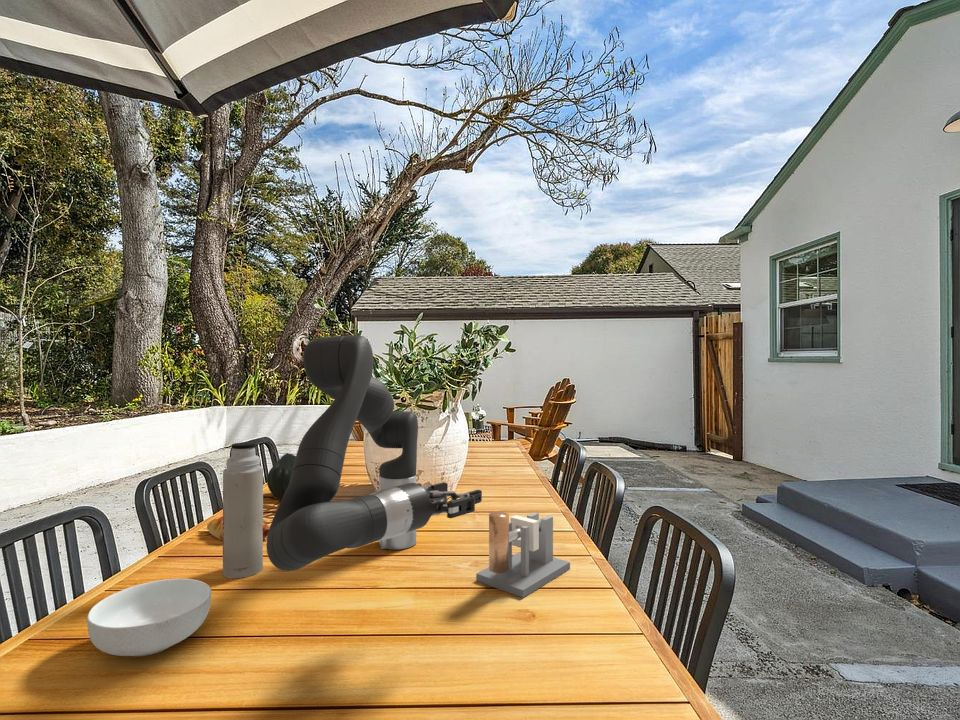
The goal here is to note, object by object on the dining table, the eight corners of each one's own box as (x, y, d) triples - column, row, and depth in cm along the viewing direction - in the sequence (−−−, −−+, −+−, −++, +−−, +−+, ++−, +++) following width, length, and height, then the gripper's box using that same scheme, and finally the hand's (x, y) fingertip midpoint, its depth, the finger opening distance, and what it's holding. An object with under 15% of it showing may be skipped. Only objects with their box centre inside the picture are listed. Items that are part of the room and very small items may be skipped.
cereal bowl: (70, 686, 71) (70, 636, 71) (104, 629, 86) (104, 587, 87) (206, 658, 78) (206, 612, 78) (215, 609, 93) (215, 571, 93)
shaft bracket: (523, 598, 98) (523, 538, 98) (476, 580, 106) (476, 525, 106) (570, 568, 112) (570, 517, 112) (525, 555, 119) (525, 506, 120)
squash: (310, 485, 164) (312, 446, 173) (261, 489, 161) (266, 449, 170) (315, 505, 174) (316, 467, 184) (269, 509, 171) (273, 470, 181)
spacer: (533, 551, 106) (533, 523, 106) (510, 544, 110) (510, 517, 110) (538, 548, 108) (538, 520, 108) (516, 542, 111) (516, 515, 111)
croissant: (199, 548, 133) (186, 525, 130) (225, 520, 142) (214, 498, 138) (265, 556, 127) (253, 532, 123) (288, 526, 135) (278, 503, 132)
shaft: (500, 575, 99) (500, 519, 99) (484, 569, 102) (485, 515, 102) (552, 547, 114) (552, 499, 114) (537, 543, 116) (537, 495, 116)
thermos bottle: (216, 579, 106) (216, 446, 106) (231, 564, 114) (232, 440, 114) (255, 577, 107) (255, 445, 107) (267, 562, 115) (268, 440, 115)
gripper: (426, 495, 76) (492, 476, 89) (367, 480, 86) (435, 466, 98) (426, 544, 76) (492, 519, 89) (367, 525, 86) (435, 504, 98)
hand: (462, 491), depth 93 cm, fingers open, 8 cm apart
